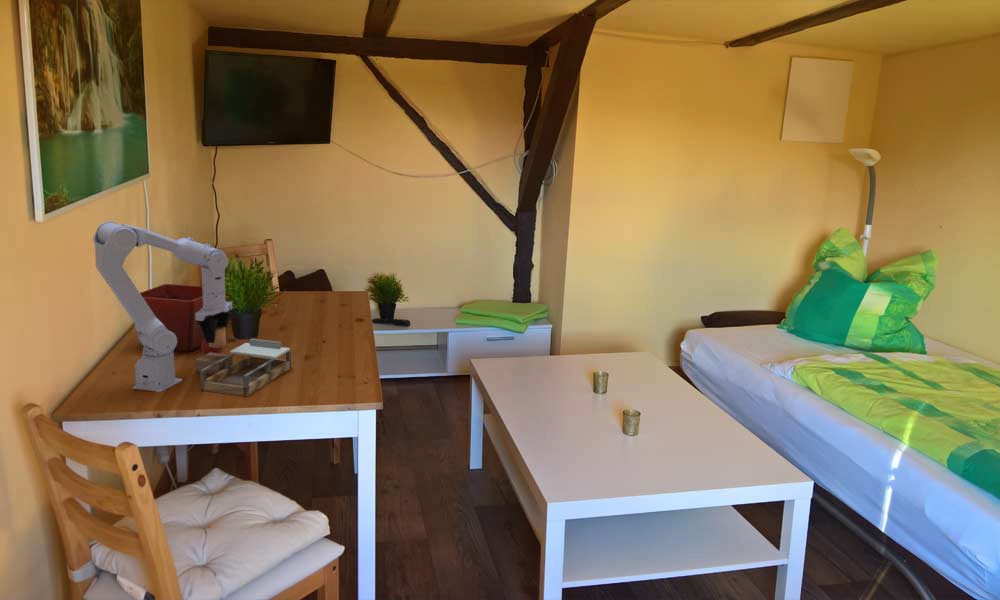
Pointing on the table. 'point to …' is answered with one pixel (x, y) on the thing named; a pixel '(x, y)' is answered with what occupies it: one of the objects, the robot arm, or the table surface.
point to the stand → (210, 360)
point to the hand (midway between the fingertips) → (215, 340)
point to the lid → (261, 349)
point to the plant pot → (178, 312)
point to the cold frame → (244, 374)
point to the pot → (219, 338)
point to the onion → (209, 348)
